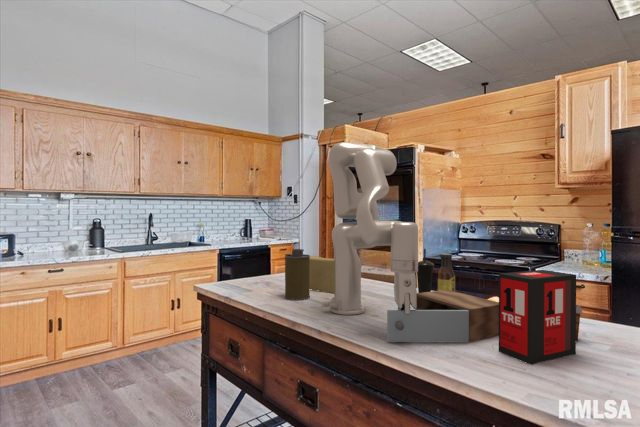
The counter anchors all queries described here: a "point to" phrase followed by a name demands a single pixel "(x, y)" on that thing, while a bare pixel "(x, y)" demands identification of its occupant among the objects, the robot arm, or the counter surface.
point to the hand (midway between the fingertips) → (403, 330)
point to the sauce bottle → (446, 274)
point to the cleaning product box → (537, 315)
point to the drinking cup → (424, 275)
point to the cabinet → (480, 309)
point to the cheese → (321, 274)
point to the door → (428, 326)
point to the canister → (297, 275)
